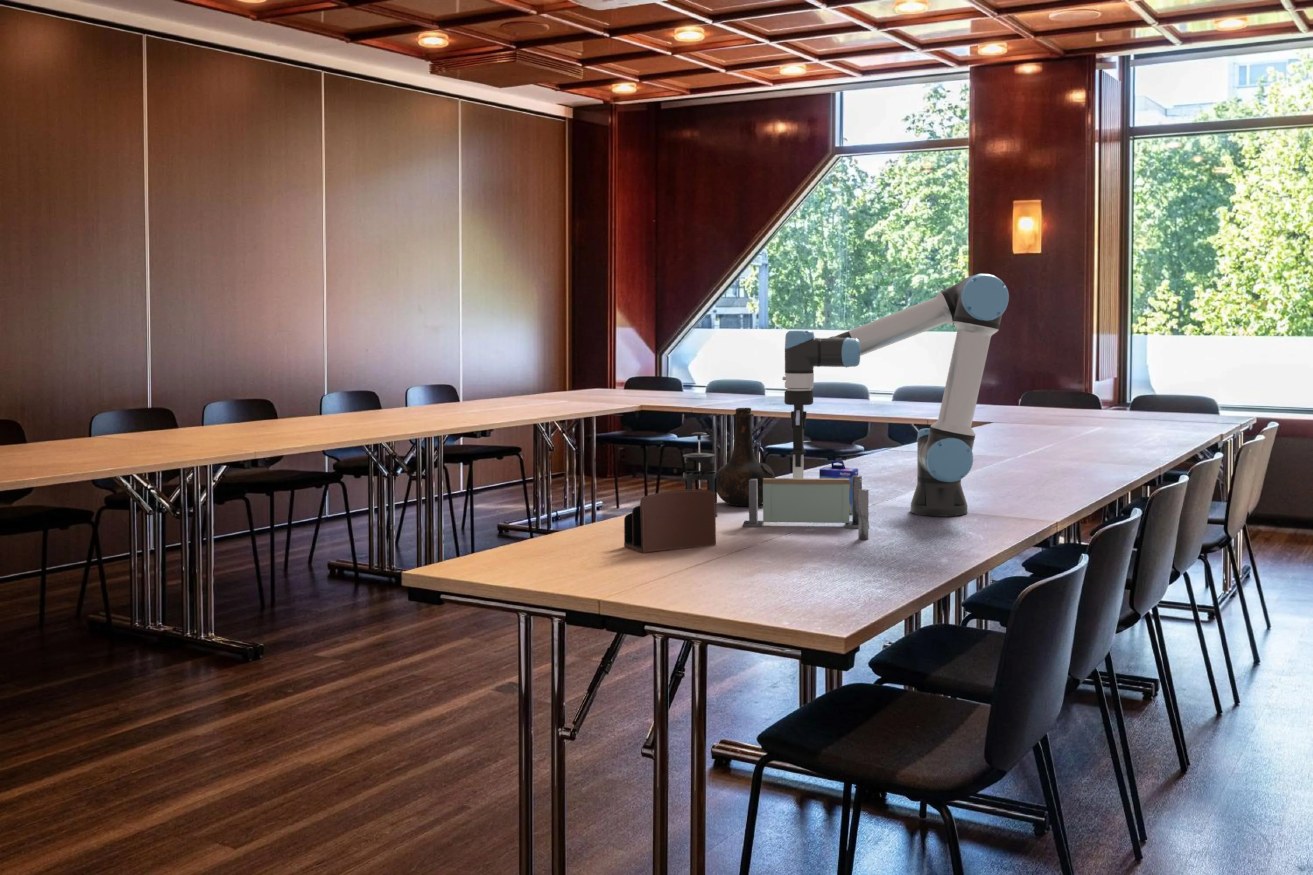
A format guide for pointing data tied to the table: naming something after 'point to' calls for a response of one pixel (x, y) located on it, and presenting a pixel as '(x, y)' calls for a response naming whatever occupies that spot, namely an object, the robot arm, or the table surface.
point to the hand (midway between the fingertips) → (798, 478)
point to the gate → (806, 500)
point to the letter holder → (672, 521)
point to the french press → (701, 475)
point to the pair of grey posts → (857, 522)
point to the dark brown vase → (742, 465)
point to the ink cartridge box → (839, 476)
